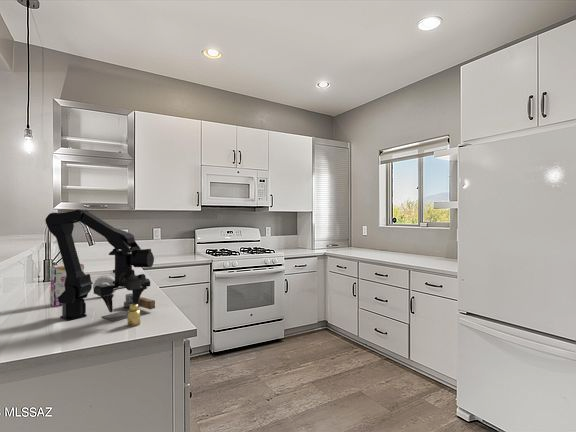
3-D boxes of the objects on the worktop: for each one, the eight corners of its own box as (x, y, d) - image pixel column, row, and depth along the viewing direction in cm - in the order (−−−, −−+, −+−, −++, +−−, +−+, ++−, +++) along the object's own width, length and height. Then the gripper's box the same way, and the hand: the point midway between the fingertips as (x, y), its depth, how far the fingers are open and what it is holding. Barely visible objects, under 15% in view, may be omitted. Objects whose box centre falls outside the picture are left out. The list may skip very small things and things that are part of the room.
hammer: (120, 306, 135) (120, 295, 135) (135, 302, 140) (135, 292, 140) (145, 313, 126) (145, 301, 125) (159, 309, 131) (159, 298, 131)
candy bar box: (54, 307, 134) (54, 267, 134) (49, 305, 137) (49, 266, 137) (84, 301, 143) (84, 263, 143) (79, 299, 146) (79, 262, 146)
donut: (93, 299, 147) (93, 276, 147) (92, 297, 150) (92, 275, 150) (118, 296, 153) (118, 274, 153) (117, 294, 156) (117, 273, 156)
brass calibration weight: (131, 327, 112) (131, 307, 111) (125, 325, 114) (125, 305, 114) (142, 324, 115) (142, 304, 115) (135, 322, 117) (135, 302, 117)
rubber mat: (113, 321, 117) (113, 320, 117) (101, 317, 122) (101, 316, 122) (136, 315, 124) (136, 314, 124) (123, 311, 129) (123, 310, 129)
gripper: (109, 273, 109) (109, 320, 109) (159, 265, 125) (159, 306, 125) (92, 269, 115) (92, 314, 115) (141, 263, 131) (141, 302, 131)
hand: (123, 309), depth 122 cm, fingers open, 9 cm apart
